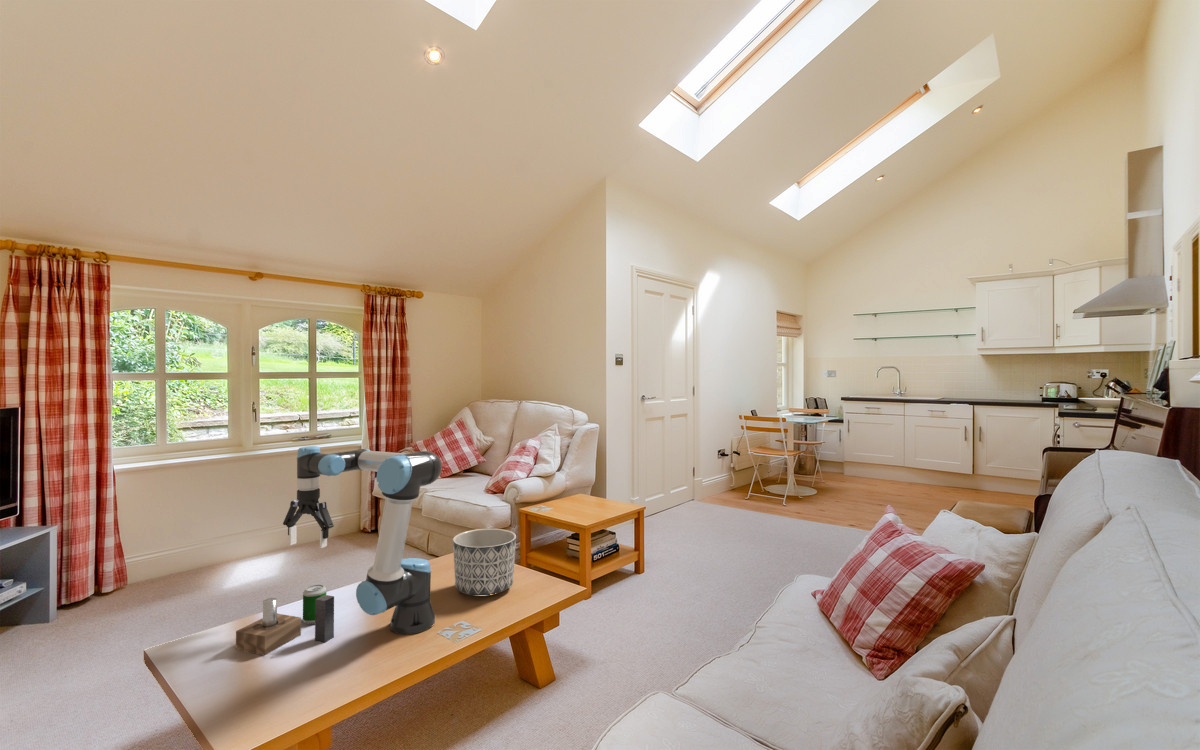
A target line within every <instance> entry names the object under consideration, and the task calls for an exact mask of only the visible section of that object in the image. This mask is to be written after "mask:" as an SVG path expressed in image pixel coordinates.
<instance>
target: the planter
mask: <svg viewBox="0 0 1200 750" xmlns="http://www.w3.org/2000/svg"><path fill="white" fill-rule="evenodd" d="M516 542H517V535H516V533H514V532H513V531H511V530H508V529H503V528H502V529H501V528H477V529H471V530H467V531H462V532H460V533H458V534H456V535H455V536H454V537H453V538H452V547H453V548H452V549H453V550H452V551H453V564H454V585H455V586H454V587H455V589H456V590H457V591H458V592H459V593H462V594H464V595H469V596H472V595H490V594H495V593H497V594H499V593H501V592H504V591H506V590H508V589H509V588H511V586H512V585H513V582H514V572H515V556H516V545H517V543H516ZM495 595H496V594H495Z"/></svg>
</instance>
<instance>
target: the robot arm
mask: <svg viewBox="0 0 1200 750" xmlns="http://www.w3.org/2000/svg"><path fill="white" fill-rule="evenodd" d="M442 469H443V463H442V460H441V458H440V457H439V455H437V453H434V452H433V451H429V450H422V451H413V452H411V453H405V452H404V453H403V452H391V451H378V450H377V451H376V450H370V449H369V448H359V449H355V450H347V451H340V452H339V451H338V452H333V453H332V452H331V453H323V452H321V447H320V446H315V445H312V446H302V447H299V448H298V449H297V457H296V489H297V490H296V499H294V500H291V501H290V503H289V508H288V511H287V513H286V515H285V517H284V519H283V522H282V525H283V526H286V527H287V536H288V546H293V545H296V544H298V543H297V538H298V537H297V535H298V533H297V532H298V531H297V530H298V529H297V528H298V526H297V522H298V521H299V520H300V518H301V517H302V516H303V515H305V514H306V515H311V516H312V517H313V519H314V520H315V522H317V524H318V526H319V527H320V530H319V549H323V548H326V547H327V546H328V539H329V535H330V534H329V532H330V531H329V530H330V529H333V527H334V526H335V525H334V523H333V521H332V518H331V515H330V512H329V510H328V508H327V506H328V505H327V502H326V501H322V502H320V501H319V499H320V497H321V489H320V488H319V487H320V486H321V475H322V476H326V477H327V476H328V477H332V476H333V477H334V476H335V477H336V476H338V475H340V474H342V473H346V472H351V471H365V472H367V471H368V472H369V471H370V472H376V483H377V486H378V489H379V490H380V491H381V495H382V496H383V498H384V507H383V511H382V517H381V522H380V526H379V527H380V528H379V535H378V539H377V544H376V550H375V555H374V561H373V564H372V565H371V566H370V567H369V568H368V569H367V573H366V578H365V580H362V581H361V582H360V583H358V585H357V587H356V589H355V596H356V600H357V603H358V605H359V607H360V608H361V610H362V611H363V612H364V613H365V614H367V615H370V616H377V615H379V614H383V613H385V612H386V611H388V610H390V609H392V608H394V607H395V608H394V611H393V613H392V615H391V620H390V630H391V631H392V632H393V633H396V634H399V635H411V634H412V635H414V634H419V633H422V632H425V631H427V630H429V629H431V628H432V627H433V626H434V625H435V623H436V614H435V612H434V609H433V606H432V602H431V582H432V581H431V579H432V577H431V576H432V574H431V573H432V571H431V563H430V561H429V560H427V559H425V558H420V557H419V558H418V557H414V558H413V557H409V558H403V555H404V551H405V545H406V540H407V535H408V529H409V524H410V518H411V513H412V508H413V502H414V501H416V500H417V499H418V497H419V495H420V491H421V490H420V489H421V487H425V486H428V485H431V484H432V483H434V482H435V481H437V480H438V478H439V477H440V476H441V474H442V471H443V470H442ZM433 624H434V625H433ZM432 625H433V626H432ZM431 626H432V627H431ZM430 627H431V628H430Z"/></svg>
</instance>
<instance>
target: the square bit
mask: <svg viewBox="0 0 1200 750" xmlns="http://www.w3.org/2000/svg"><path fill="white" fill-rule="evenodd" d="M334 629H335V596H333V595H327V594H326V595H323V596H321V597H319V598H317V599H315V624H314V642H318V643H323V644H325V643H327V642H328V641H330V640H331V639H333V638H334V637H335V636H334V635H335V630H334Z"/></svg>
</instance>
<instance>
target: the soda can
mask: <svg viewBox="0 0 1200 750" xmlns="http://www.w3.org/2000/svg"><path fill="white" fill-rule="evenodd" d="M323 595H327V588H326V586H325V585H323V584H313V585H310V586H309V585H308V586H307V587H306V588H305V590H303V592H302V621H303V622H304V623H305V624H306V625H315V599H317V598H319V597H321V596H323Z"/></svg>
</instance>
